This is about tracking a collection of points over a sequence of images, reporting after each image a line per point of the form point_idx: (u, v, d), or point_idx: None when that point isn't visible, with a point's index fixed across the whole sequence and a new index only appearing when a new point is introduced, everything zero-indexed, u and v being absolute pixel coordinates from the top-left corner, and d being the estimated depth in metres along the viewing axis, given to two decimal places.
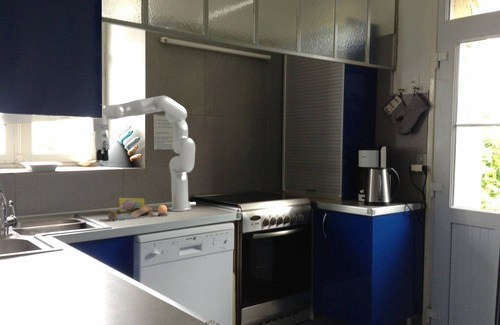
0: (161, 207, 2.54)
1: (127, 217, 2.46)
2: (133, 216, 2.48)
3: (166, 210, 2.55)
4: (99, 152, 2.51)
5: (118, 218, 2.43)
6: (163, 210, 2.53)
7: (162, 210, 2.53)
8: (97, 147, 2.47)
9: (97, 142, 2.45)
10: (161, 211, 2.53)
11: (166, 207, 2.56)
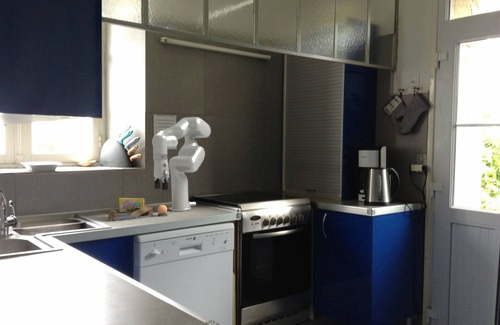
0: (161, 207, 2.54)
1: (127, 217, 2.46)
2: (133, 216, 2.48)
3: (166, 210, 2.55)
4: (157, 180, 2.58)
5: (118, 218, 2.43)
6: (163, 210, 2.53)
7: (162, 210, 2.53)
8: (156, 176, 2.54)
9: (157, 171, 2.52)
10: (161, 211, 2.53)
11: (166, 207, 2.56)
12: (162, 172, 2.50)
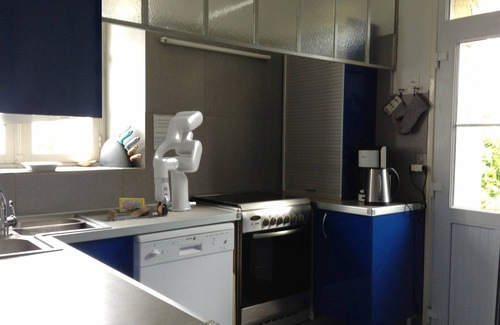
0: (161, 207, 2.54)
1: (127, 217, 2.46)
2: (133, 216, 2.48)
3: None
4: (160, 204, 2.58)
5: (118, 218, 2.43)
6: None
7: None
8: (157, 199, 2.55)
9: (158, 194, 2.53)
10: (161, 211, 2.53)
11: None
12: (163, 198, 2.50)
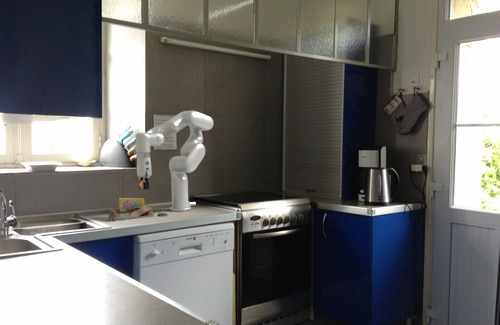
0: (142, 182, 2.53)
1: (127, 217, 2.46)
2: (133, 216, 2.48)
3: None
4: None
5: (118, 218, 2.43)
6: None
7: None
8: (139, 174, 2.54)
9: (139, 169, 2.53)
10: (142, 186, 2.53)
11: None
12: (145, 172, 2.50)
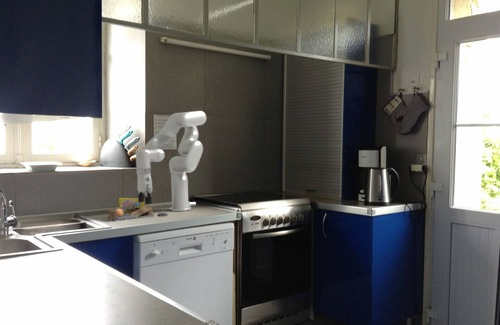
0: None
1: (127, 217, 2.46)
2: (133, 216, 2.48)
3: (122, 213, 2.47)
4: (141, 194, 2.60)
5: (118, 218, 2.43)
6: (119, 214, 2.45)
7: (118, 215, 2.45)
8: (140, 190, 2.55)
9: (140, 185, 2.54)
10: (117, 216, 2.46)
11: (121, 210, 2.47)
12: (145, 186, 2.51)
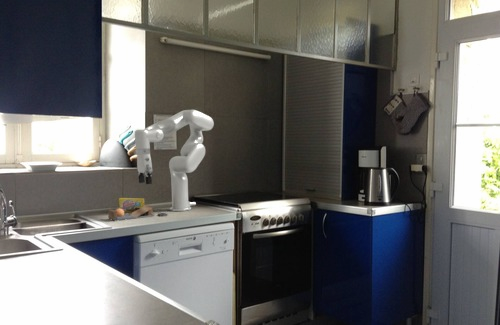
0: (117, 211, 2.46)
1: (127, 217, 2.46)
2: (133, 216, 2.48)
3: (123, 213, 2.47)
4: (141, 174, 2.60)
5: (118, 218, 2.43)
6: (120, 214, 2.46)
7: (119, 214, 2.45)
8: (140, 170, 2.55)
9: (140, 166, 2.53)
10: (118, 215, 2.46)
11: (122, 210, 2.47)
12: (145, 166, 2.50)
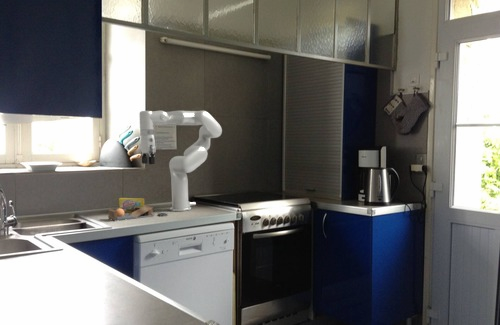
0: (117, 211, 2.46)
1: (127, 217, 2.46)
2: (133, 216, 2.48)
3: (123, 213, 2.47)
4: (144, 155, 2.64)
5: (118, 218, 2.43)
6: (120, 214, 2.46)
7: (119, 214, 2.45)
8: (143, 151, 2.60)
9: (143, 146, 2.58)
10: (118, 215, 2.46)
11: (123, 210, 2.48)
12: (148, 147, 2.55)
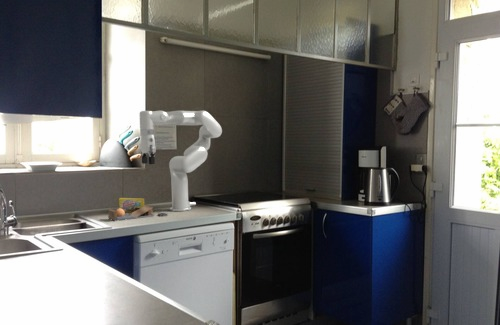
0: (118, 211, 2.46)
1: (127, 217, 2.46)
2: (133, 216, 2.48)
3: (123, 213, 2.47)
4: (144, 155, 2.64)
5: (118, 218, 2.43)
6: (120, 214, 2.46)
7: (119, 214, 2.46)
8: (143, 151, 2.60)
9: (143, 146, 2.58)
10: (118, 215, 2.46)
11: (123, 210, 2.48)
12: (148, 147, 2.56)
